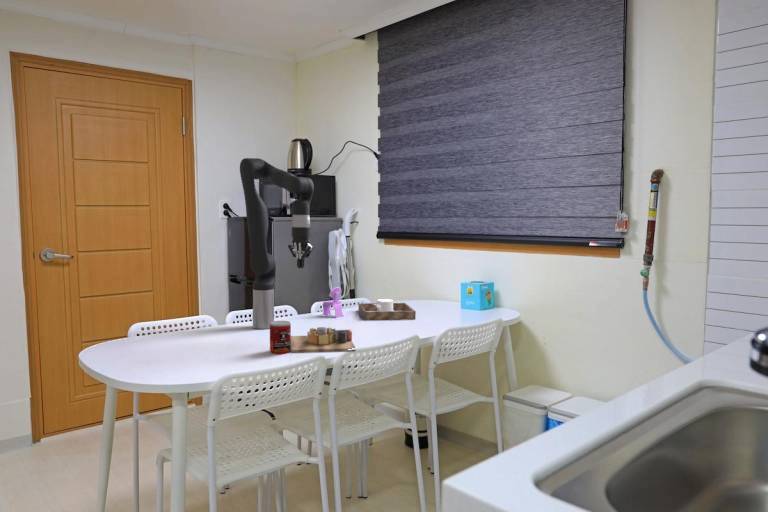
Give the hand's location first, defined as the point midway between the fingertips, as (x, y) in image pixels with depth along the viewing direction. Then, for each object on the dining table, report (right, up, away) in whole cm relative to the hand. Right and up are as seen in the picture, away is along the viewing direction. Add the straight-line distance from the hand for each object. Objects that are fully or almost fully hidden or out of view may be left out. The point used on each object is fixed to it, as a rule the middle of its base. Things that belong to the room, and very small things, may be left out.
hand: (300, 268), depth 238 cm
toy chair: (+9, -25, +50) cm, 57 cm away
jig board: (+10, -30, -10) cm, 33 cm away
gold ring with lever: (+13, -29, -9) cm, 33 cm away
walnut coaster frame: (+35, -25, +56) cm, 71 cm away
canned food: (-4, -31, -23) cm, 39 cm away
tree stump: (+35, -26, +54) cm, 70 cm away
